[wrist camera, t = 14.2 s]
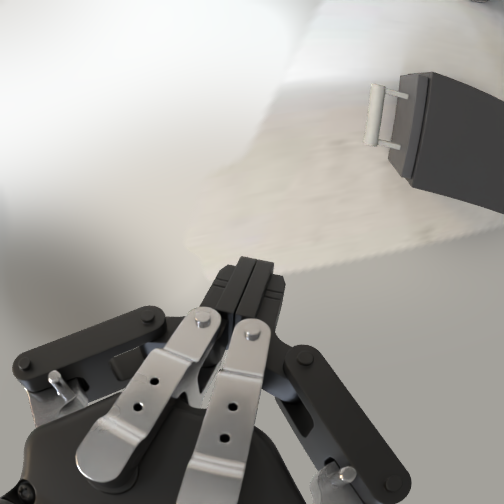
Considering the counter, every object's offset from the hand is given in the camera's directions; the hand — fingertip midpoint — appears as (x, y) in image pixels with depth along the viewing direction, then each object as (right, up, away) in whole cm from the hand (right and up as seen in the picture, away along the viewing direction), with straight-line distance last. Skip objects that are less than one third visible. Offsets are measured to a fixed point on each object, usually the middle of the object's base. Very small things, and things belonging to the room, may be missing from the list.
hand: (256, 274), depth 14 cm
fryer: (+26, +17, +17) cm, 35 cm away
